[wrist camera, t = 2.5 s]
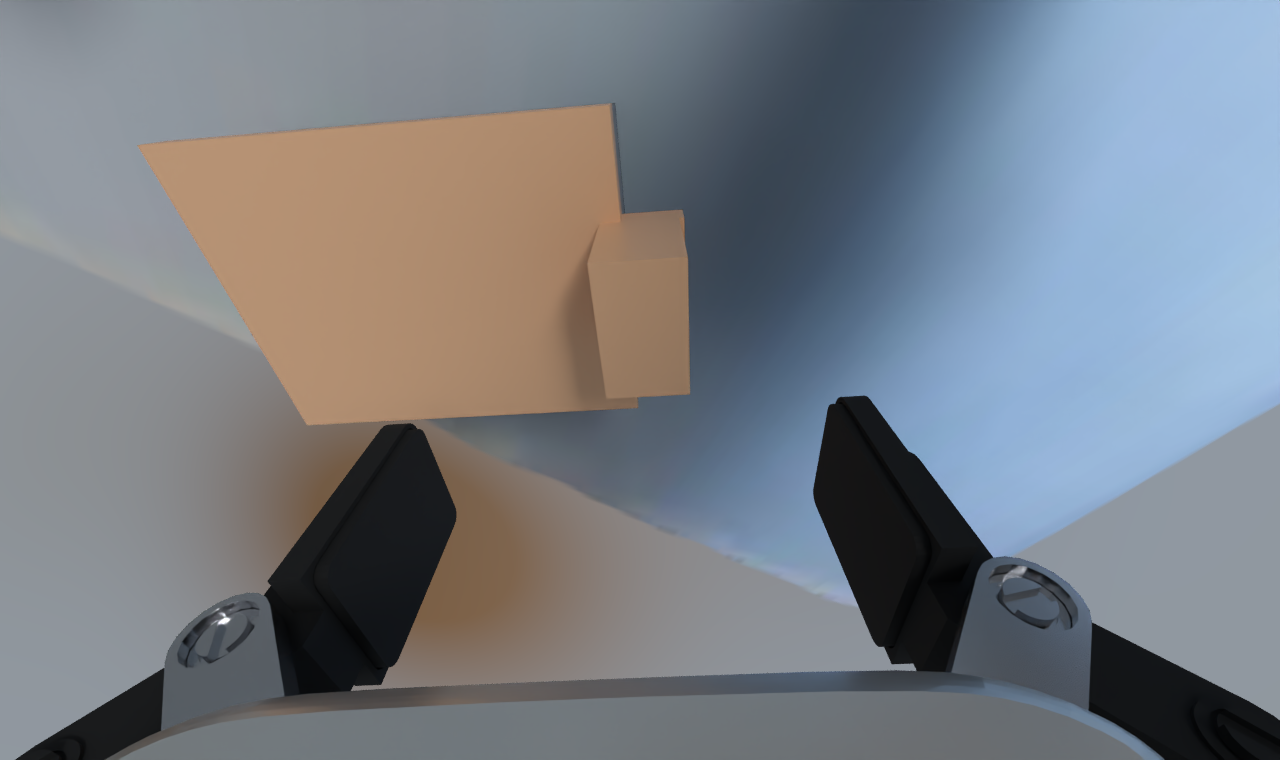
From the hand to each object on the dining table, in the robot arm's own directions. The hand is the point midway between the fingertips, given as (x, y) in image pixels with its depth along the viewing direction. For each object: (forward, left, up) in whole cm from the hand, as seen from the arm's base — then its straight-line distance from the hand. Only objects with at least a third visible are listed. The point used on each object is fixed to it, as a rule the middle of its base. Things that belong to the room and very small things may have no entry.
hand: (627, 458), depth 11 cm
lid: (+7, 0, -12) cm, 14 cm away
